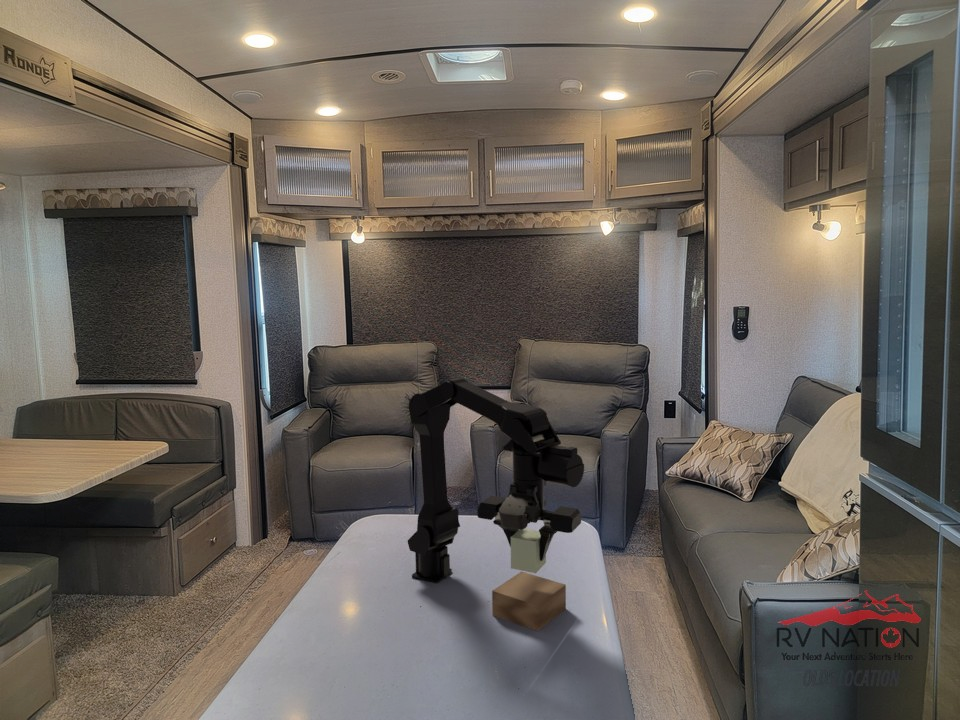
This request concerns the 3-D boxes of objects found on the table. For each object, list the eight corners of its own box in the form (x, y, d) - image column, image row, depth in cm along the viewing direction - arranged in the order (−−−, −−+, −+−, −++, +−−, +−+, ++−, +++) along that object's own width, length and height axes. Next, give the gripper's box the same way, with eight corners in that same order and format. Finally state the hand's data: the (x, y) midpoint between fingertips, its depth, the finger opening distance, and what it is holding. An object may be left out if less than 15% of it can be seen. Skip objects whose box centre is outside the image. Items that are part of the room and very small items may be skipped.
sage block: (510, 568, 122) (510, 537, 121) (521, 558, 126) (521, 528, 126) (535, 573, 120) (535, 541, 119) (545, 562, 124) (545, 532, 123)
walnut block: (492, 616, 123) (492, 590, 123) (521, 595, 131) (521, 571, 131) (538, 632, 117) (538, 605, 117) (565, 609, 125) (565, 584, 125)
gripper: (462, 482, 118) (464, 565, 120) (561, 496, 110) (561, 585, 112) (490, 466, 128) (490, 543, 130) (582, 478, 120) (581, 560, 122)
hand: (528, 557), depth 123 cm, fingers closed on sage block, 5 cm apart
